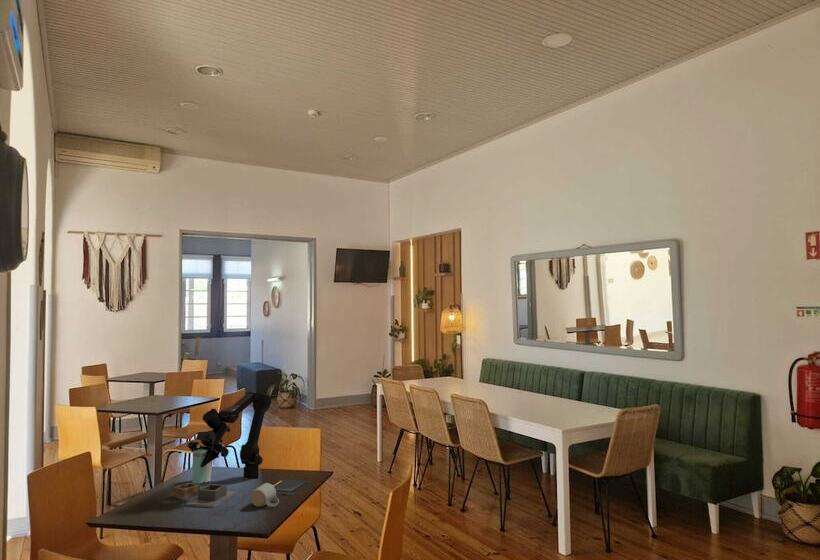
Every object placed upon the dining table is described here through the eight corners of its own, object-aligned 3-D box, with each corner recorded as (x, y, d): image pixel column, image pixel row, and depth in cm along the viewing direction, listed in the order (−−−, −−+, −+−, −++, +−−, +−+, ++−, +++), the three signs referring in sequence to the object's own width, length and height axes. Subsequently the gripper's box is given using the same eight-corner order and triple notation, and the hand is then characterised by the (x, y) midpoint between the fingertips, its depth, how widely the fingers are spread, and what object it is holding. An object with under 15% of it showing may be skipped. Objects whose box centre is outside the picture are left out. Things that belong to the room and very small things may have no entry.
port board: (211, 492, 240) (211, 480, 240) (236, 493, 238) (236, 482, 238) (186, 505, 222) (186, 493, 223) (213, 507, 220) (213, 495, 220)
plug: (200, 479, 235) (200, 448, 236) (206, 480, 234) (207, 449, 235) (192, 482, 231) (192, 451, 232) (199, 483, 230) (199, 451, 230)
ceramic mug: (248, 507, 221) (249, 487, 221) (260, 500, 229) (260, 481, 229) (272, 510, 218) (272, 490, 218) (282, 503, 225) (283, 484, 226)
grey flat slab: (291, 492, 235) (260, 490, 239) (291, 497, 235) (260, 494, 239) (312, 479, 254) (282, 477, 258) (312, 483, 254) (282, 481, 258)
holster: (190, 491, 241) (190, 482, 241) (199, 494, 237) (199, 485, 237) (172, 496, 234) (173, 486, 235) (182, 499, 230) (182, 489, 230)
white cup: (194, 479, 260) (194, 457, 260) (212, 478, 262) (212, 456, 263) (193, 484, 252) (193, 461, 253) (211, 482, 254) (211, 460, 255)
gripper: (190, 422, 241) (170, 453, 230) (224, 425, 234) (205, 458, 223) (203, 437, 248) (184, 468, 237) (236, 440, 241) (218, 472, 230)
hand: (197, 466), depth 231 cm, fingers closed on plug, 4 cm apart
